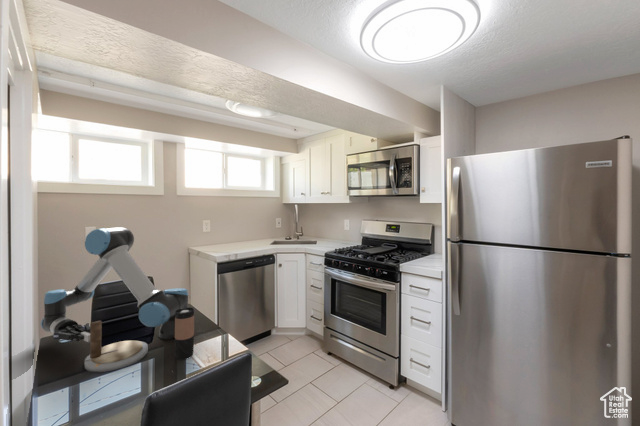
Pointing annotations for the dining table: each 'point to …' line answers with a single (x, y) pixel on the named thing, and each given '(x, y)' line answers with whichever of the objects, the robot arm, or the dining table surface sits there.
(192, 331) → the travel mug
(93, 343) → the dial
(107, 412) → the dining table surface
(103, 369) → the base
